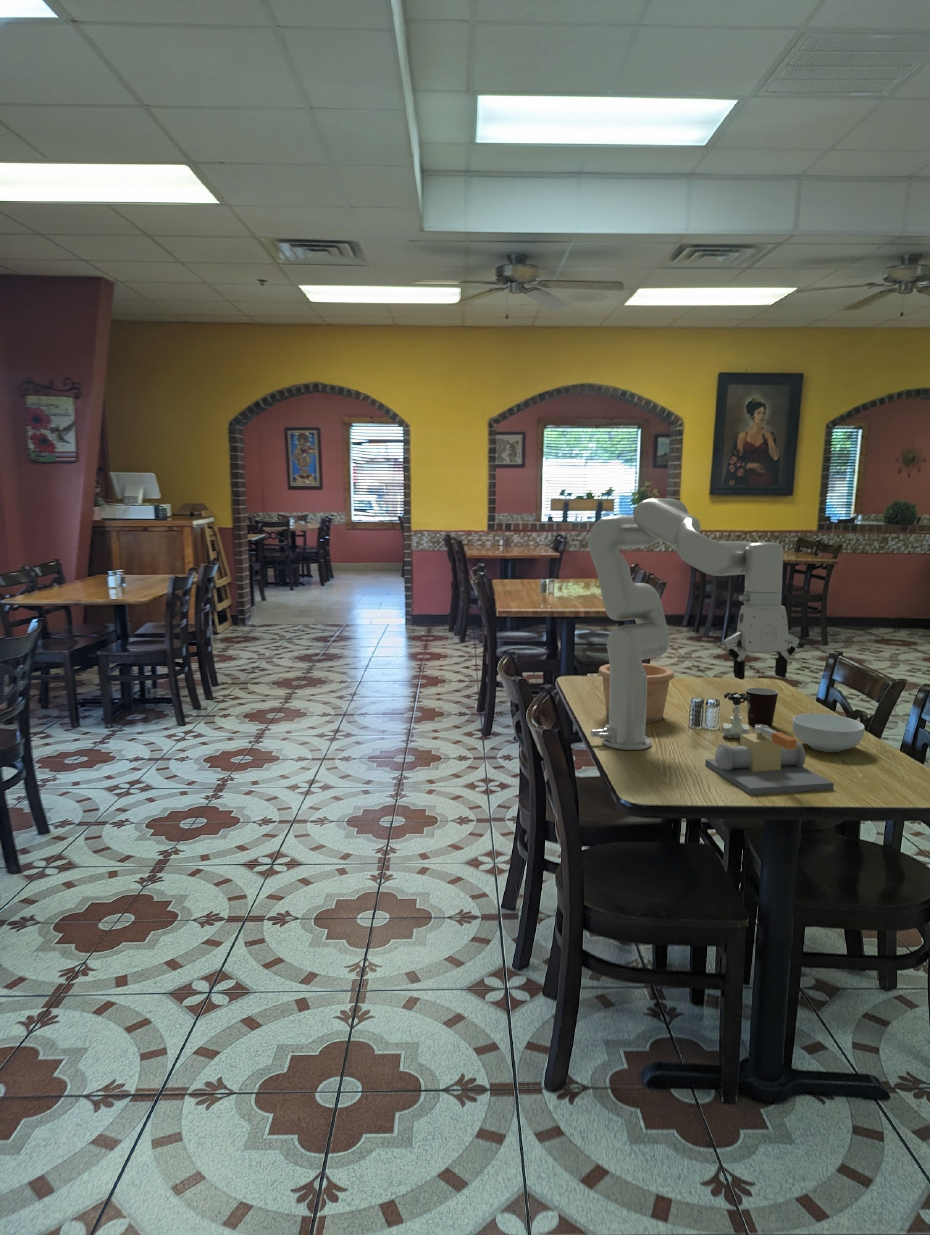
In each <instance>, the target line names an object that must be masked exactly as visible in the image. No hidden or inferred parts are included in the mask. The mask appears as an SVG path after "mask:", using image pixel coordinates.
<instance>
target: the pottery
mask: <svg viewBox="0 0 930 1235" xmlns="http://www.w3.org/2000/svg"><path fill="white" fill-rule="evenodd" d="M642 664H643V667H644V669H645V671H646V675H647V703H646V724H654V723H658V722H660V721H662V720H663V719H664V713H665V707H666V701H667V698H668V697H667V696H668V691H669V686H670V680H673V679H674V677H675V675H674V674H675V670H673V669H671V668H669V667H667V666H663V665H659V664H652V663H644V662H642ZM598 675H599V676H600V677H601V678H602V685H603V695H604V703H605V711H606V712H605V715H606V716H607V717H608V718H609V701H610V663H608V664H604V665H601V666H599V669H598Z"/></svg>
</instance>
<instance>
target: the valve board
mask: <svg viewBox="0 0 930 1235" xmlns="http://www.w3.org/2000/svg"><path fill="white" fill-rule="evenodd" d="M739 739H740V741H739V743H740V744H739V745H737V746H730V745H728V744H727V743H721V744H720V743H719V744H718V746H717V747H716V750H715V753H714V754H715V756H714V758H708V759H707V758H706V759H705V762H704V765H705V766H706V767H707V768H709V769H710V770H712V771H713V772H714V773H717V775H719V776H721V777H723V778H724V779H725V780H727V781H728V782H729V783H731V784H733V785H734V786H736V787H737V788H739V789H740V790H742V791H743V792H745V793H746V794H748V795H749V796H753V795H754V796H755V795H768V794H772V795H773V794H781V793H782V794H783V793H785V794H786V793H797V792H799V793H800V792H813V791H830V790H834V787H835V782H833V781H831V780H830V779H828V778H826V777H823V776H822V775H820V774H818V773H817V772H814V771H812V770H810V769H809V768H807V767H805V766H804V764H805V762H806V750H805V748H804V746H803V744H802V743H801V741H800V740H797V749H786V748H784V747H782V746H780V745H778V744H776V743H774V742H772V740H771V739H769V738H767V737H765V736H763V735H761V734H756V733H749V734H741V737H740V738H739Z"/></svg>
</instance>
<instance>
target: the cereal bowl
mask: <svg viewBox="0 0 930 1235" xmlns="http://www.w3.org/2000/svg"><path fill="white" fill-rule="evenodd" d="M791 722H792V724H791V726H792V731H793V732H792V733H793V734H794V736H796V738H797V739H798V741H799V742H802V743H805V744H806V745H808V746H809V747H810V748H811V749H813V750H817V751H820V752H826V753H839V752H841V751H844V750H849V749H852V748H855V747H857V746H858V745H859V744H860V743H861V742H862V740H863V738H864V736H865V728H866V727H865V725H864V723H862V722H860V721H858V720H856V719H853V718H850V717H846V716H842V715H837V714H836V715H835V714H829V713H816V712H815V713H814V712H813V713H811V712H810V713H809V712H807V713H802V714H801V713H800V714H797V715H794V716H793V717H792V721H791Z"/></svg>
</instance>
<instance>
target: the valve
mask: <svg viewBox="0 0 930 1235" xmlns="http://www.w3.org/2000/svg"><path fill="white" fill-rule="evenodd" d="M723 699H727V700H728V701H731V702H732V705H734V707H732V713H733V714H732V716H730V717H729V721H730V723H729V722H728V723H726V722H723V723H722V724H721V736H722V737H724V738H729V737H730V738H731V739H740V737H741V734H750V725H749V724H748V723H747V724H745V723H742V721H743V718H742V717H741V716H740V714H741V708H740V707H739V706H740V705H741V704H744V703H745V702H747V701H748V699H750V695H746V692H745V693H744V692H743V693H738V692H737V691H734V692H733V693H731V692H726V693H724V694H723Z"/></svg>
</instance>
